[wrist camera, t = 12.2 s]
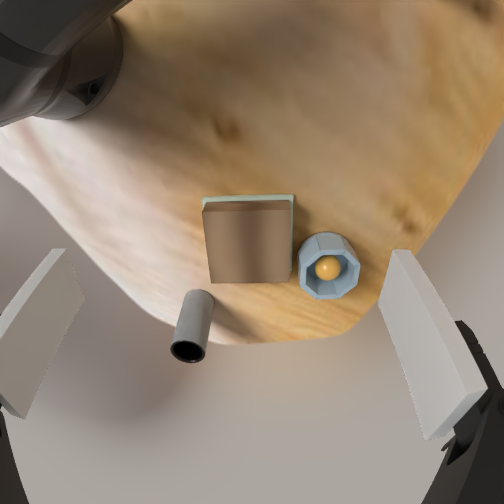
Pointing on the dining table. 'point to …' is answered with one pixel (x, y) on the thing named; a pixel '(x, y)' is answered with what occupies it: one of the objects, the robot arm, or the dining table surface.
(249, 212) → the cover
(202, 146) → the dining table surface
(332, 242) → the bowl
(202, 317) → the grey cylinder
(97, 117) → the dining table surface
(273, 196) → the mat
